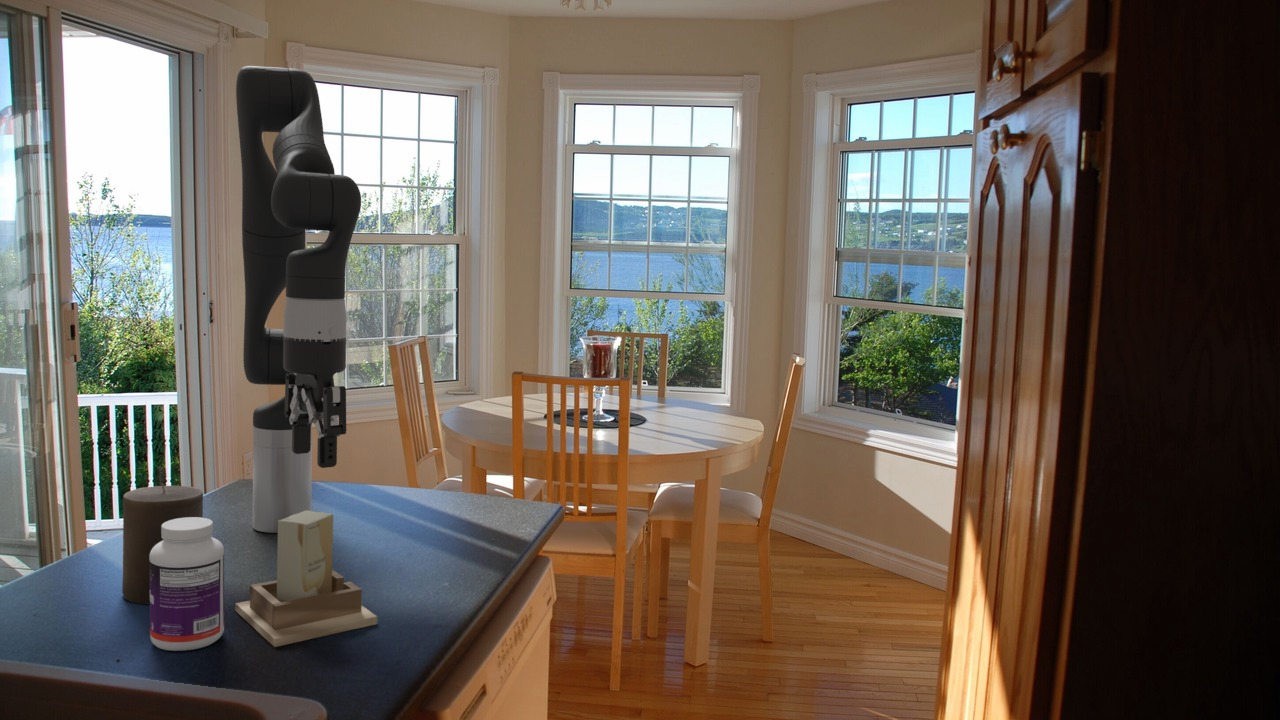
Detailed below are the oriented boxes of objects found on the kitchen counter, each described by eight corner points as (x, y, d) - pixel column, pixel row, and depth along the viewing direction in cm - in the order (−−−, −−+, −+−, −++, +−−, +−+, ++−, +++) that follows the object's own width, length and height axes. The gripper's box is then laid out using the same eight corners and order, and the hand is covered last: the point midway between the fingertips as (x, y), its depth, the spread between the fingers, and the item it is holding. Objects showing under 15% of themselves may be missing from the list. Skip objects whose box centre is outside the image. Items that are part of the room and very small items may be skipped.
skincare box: (305, 620, 121) (306, 525, 120) (274, 615, 122) (275, 521, 121) (333, 603, 127) (335, 512, 126) (304, 598, 128) (305, 508, 127)
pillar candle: (162, 609, 125) (162, 495, 123) (105, 596, 128) (105, 485, 127) (218, 587, 134) (220, 481, 132) (164, 576, 137) (165, 472, 136)
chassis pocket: (235, 610, 126) (235, 580, 125) (332, 591, 134) (332, 563, 134) (274, 647, 115) (274, 614, 115) (377, 624, 123) (377, 593, 123)
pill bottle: (166, 627, 119) (165, 513, 118) (233, 628, 120) (233, 514, 119) (138, 654, 111) (136, 532, 110) (210, 655, 112) (210, 533, 111)
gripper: (265, 328, 125) (264, 451, 127) (307, 340, 114) (306, 475, 116) (322, 327, 130) (320, 446, 132) (367, 339, 119) (365, 468, 121)
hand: (313, 459), depth 124 cm, fingers open, 8 cm apart
